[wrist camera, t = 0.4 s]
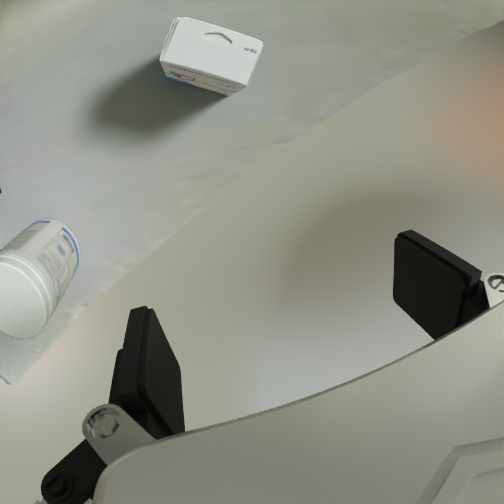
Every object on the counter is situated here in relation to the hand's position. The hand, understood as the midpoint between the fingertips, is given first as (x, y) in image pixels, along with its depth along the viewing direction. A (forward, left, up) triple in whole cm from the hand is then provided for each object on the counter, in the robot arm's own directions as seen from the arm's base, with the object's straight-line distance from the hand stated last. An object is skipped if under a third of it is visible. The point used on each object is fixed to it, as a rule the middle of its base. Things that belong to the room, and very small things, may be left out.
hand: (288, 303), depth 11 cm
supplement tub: (+4, -24, -31) cm, 39 cm away
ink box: (-13, +2, -31) cm, 33 cm away
